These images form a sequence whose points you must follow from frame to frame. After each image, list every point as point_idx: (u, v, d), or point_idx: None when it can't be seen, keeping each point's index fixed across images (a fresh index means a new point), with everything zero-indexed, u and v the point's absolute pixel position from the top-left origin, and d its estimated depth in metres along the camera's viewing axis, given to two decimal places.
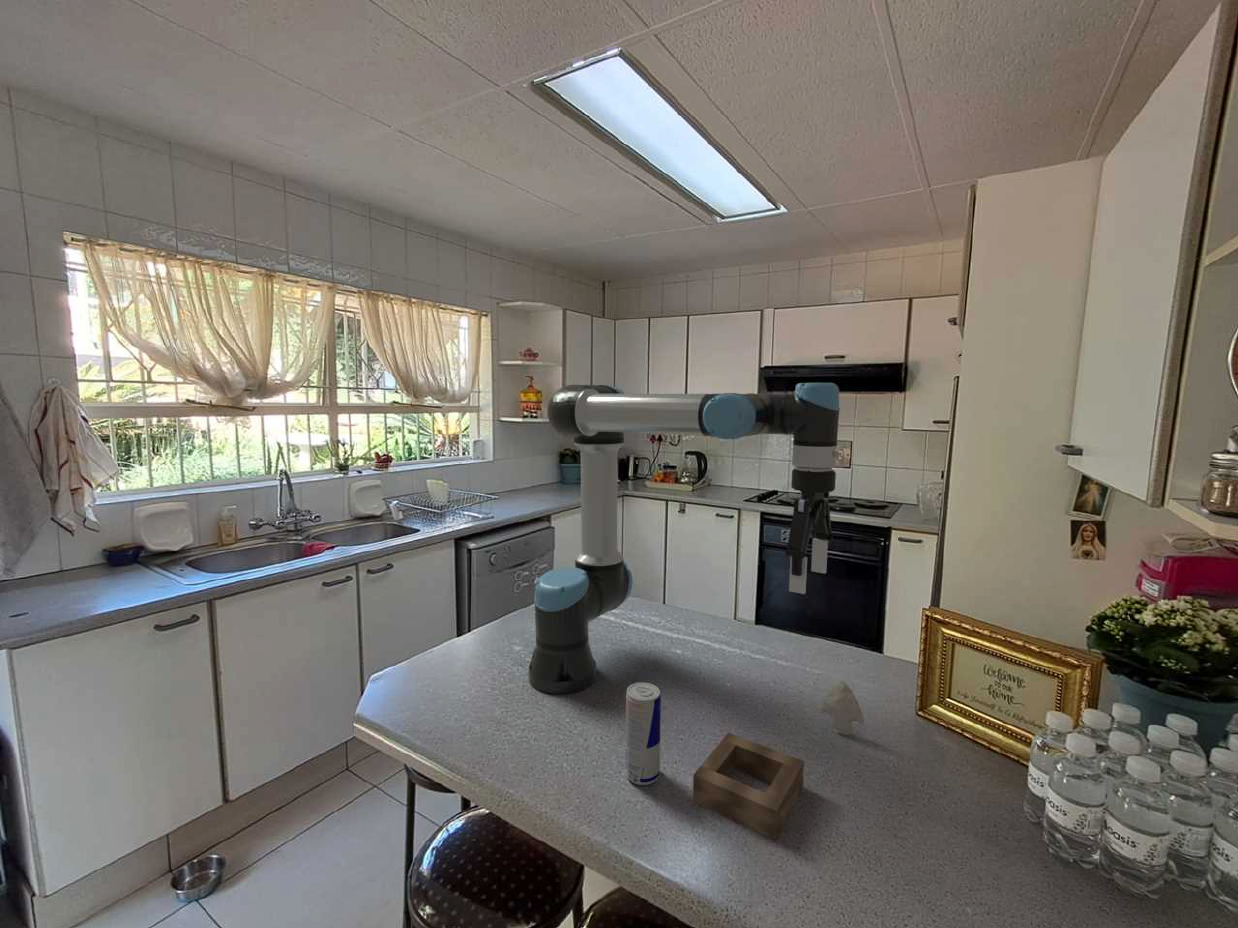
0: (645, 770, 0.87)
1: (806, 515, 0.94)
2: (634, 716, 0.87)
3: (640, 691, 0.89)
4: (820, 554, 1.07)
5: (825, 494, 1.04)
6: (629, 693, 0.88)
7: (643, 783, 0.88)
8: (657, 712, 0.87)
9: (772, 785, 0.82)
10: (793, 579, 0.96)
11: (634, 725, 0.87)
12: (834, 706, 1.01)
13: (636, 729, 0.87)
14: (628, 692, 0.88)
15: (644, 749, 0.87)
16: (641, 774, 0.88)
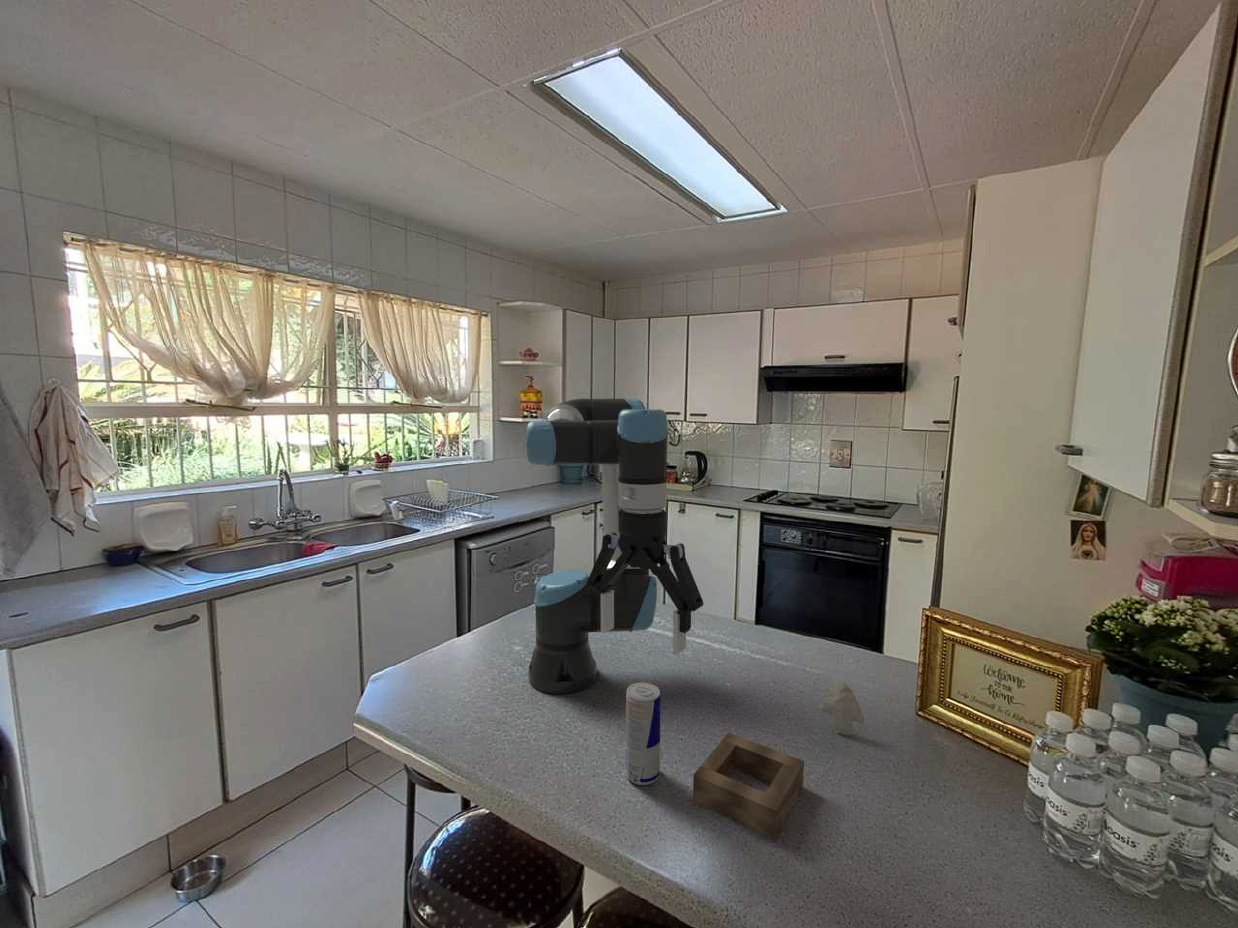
0: (645, 770, 0.87)
1: None
2: (634, 716, 0.87)
3: (640, 691, 0.89)
4: None
5: None
6: (629, 693, 0.88)
7: (643, 783, 0.88)
8: (657, 712, 0.87)
9: (772, 785, 0.82)
10: None
11: (634, 725, 0.87)
12: (834, 706, 1.01)
13: (636, 729, 0.87)
14: (628, 692, 0.88)
15: (644, 749, 0.87)
16: (641, 774, 0.88)
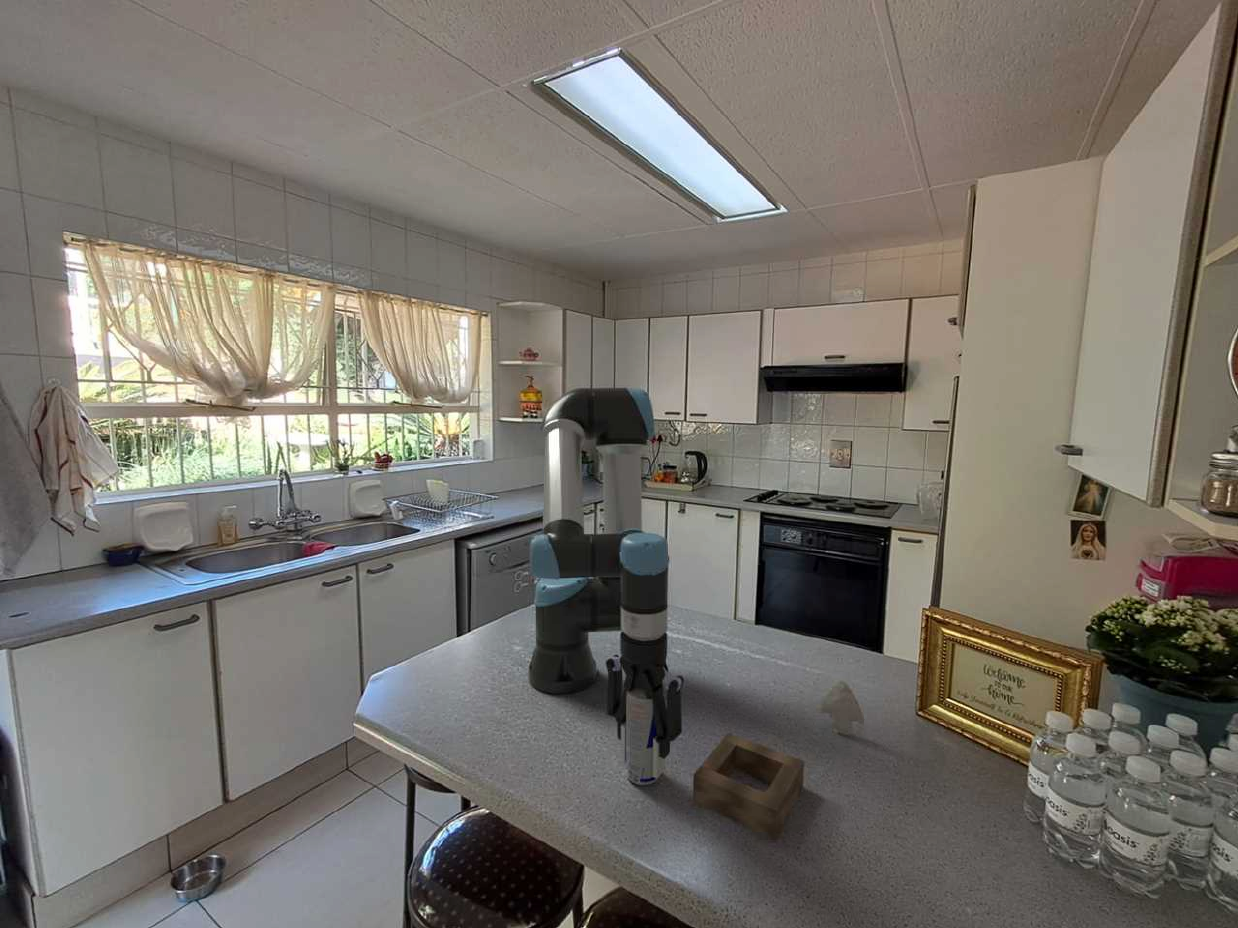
0: (645, 770, 0.87)
1: None
2: (634, 716, 0.87)
3: (640, 691, 0.89)
4: None
5: None
6: (629, 693, 0.88)
7: (643, 783, 0.88)
8: None
9: (772, 785, 0.82)
10: None
11: (635, 725, 0.87)
12: (834, 706, 1.01)
13: (636, 729, 0.87)
14: (628, 692, 0.88)
15: (644, 749, 0.87)
16: (641, 774, 0.88)
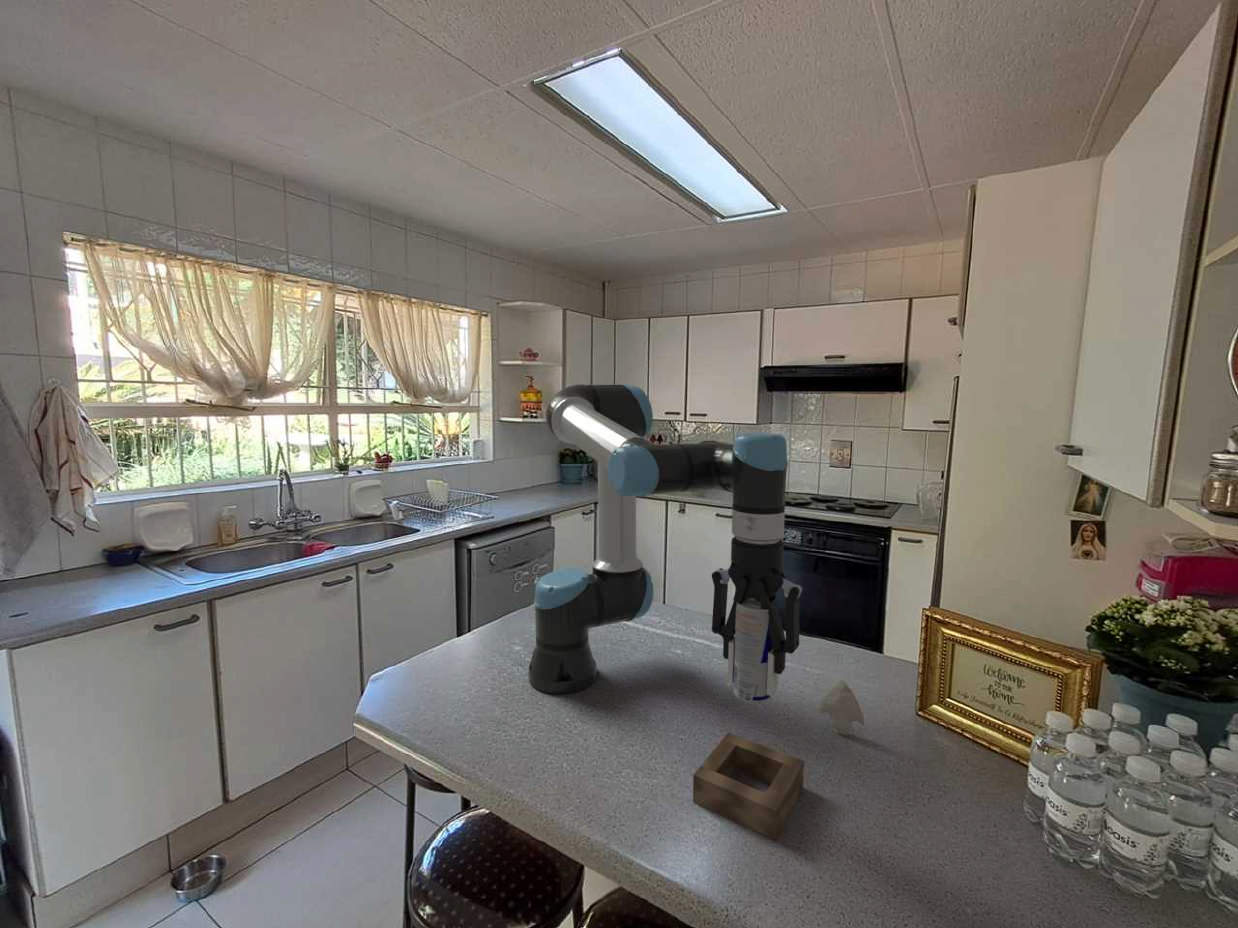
0: (759, 687, 0.81)
1: (714, 588, 0.85)
2: (748, 628, 0.80)
3: (752, 603, 0.82)
4: None
5: (790, 589, 0.78)
6: (741, 605, 0.82)
7: (756, 702, 0.81)
8: None
9: (772, 785, 0.82)
10: None
11: (748, 638, 0.81)
12: (834, 706, 1.01)
13: (750, 643, 0.80)
14: (739, 604, 0.82)
15: (758, 664, 0.81)
16: (754, 692, 0.81)
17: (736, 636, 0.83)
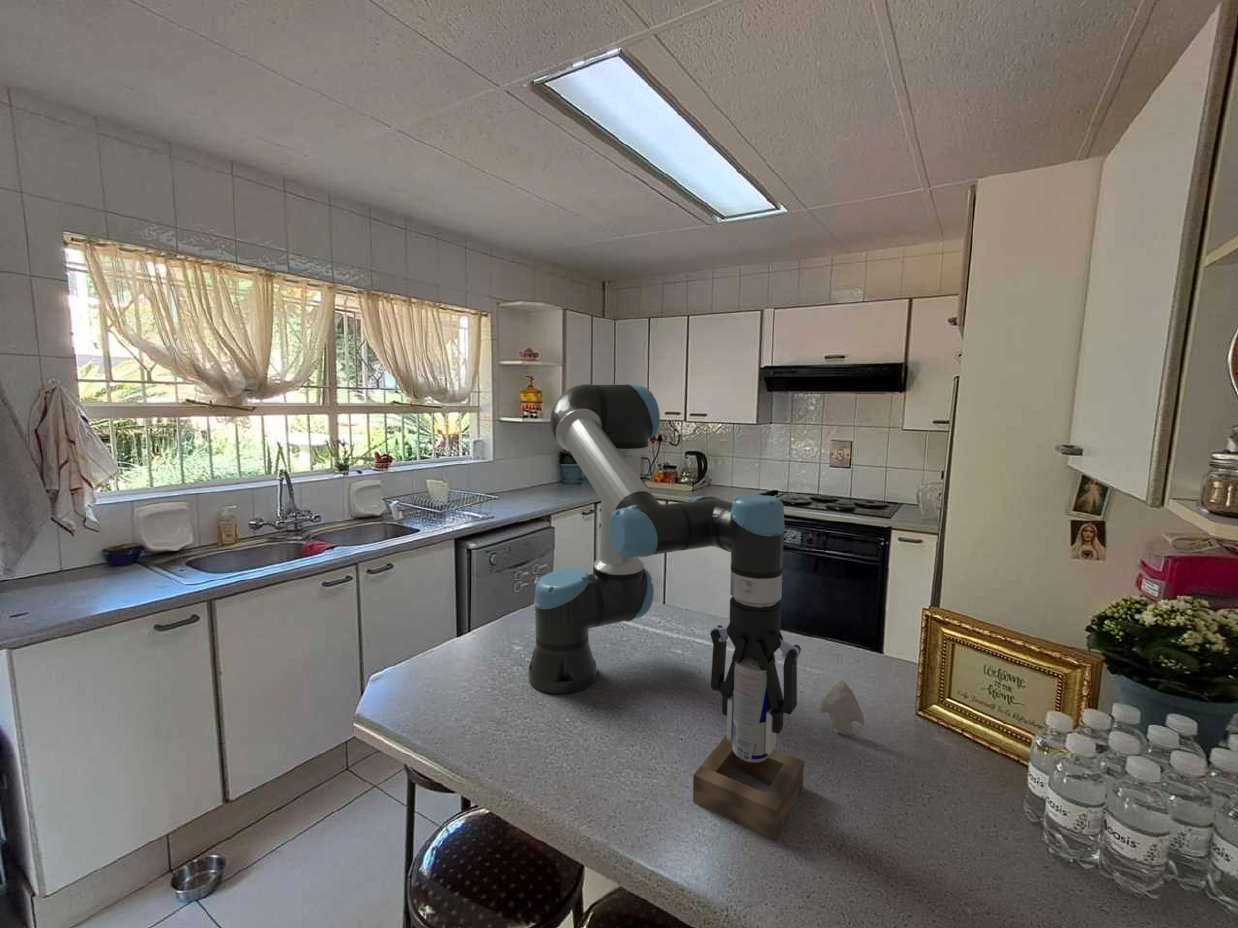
0: (757, 746, 0.82)
1: None
2: (746, 688, 0.82)
3: (750, 663, 0.83)
4: None
5: (788, 651, 0.79)
6: (739, 665, 0.83)
7: (755, 760, 0.82)
8: None
9: (772, 785, 0.82)
10: None
11: (746, 698, 0.82)
12: (834, 706, 1.01)
13: (748, 703, 0.82)
14: (738, 664, 0.83)
15: (757, 724, 0.82)
16: (753, 751, 0.82)
17: (735, 695, 0.84)
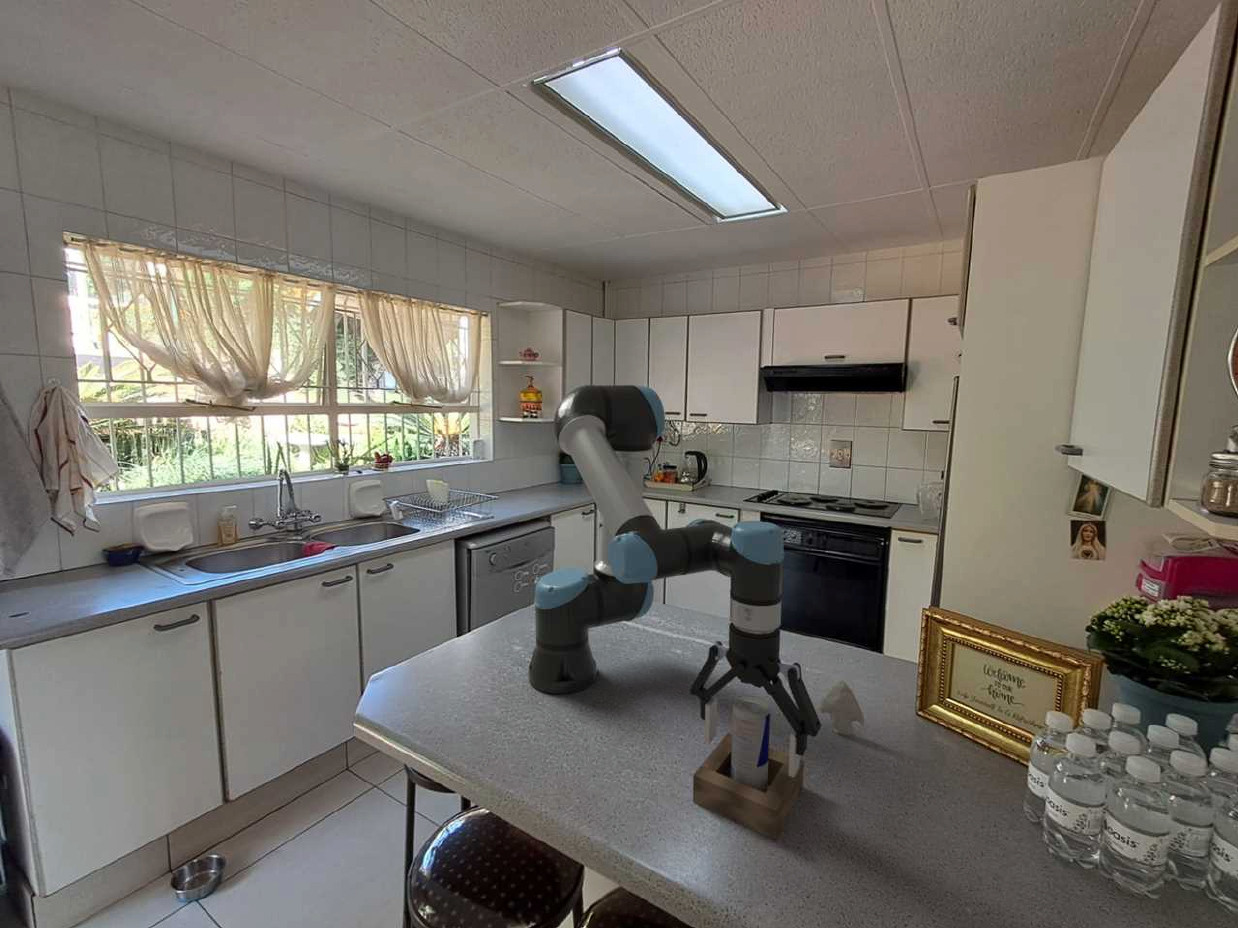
0: None
1: (707, 659, 0.87)
2: (744, 733, 0.82)
3: (748, 706, 0.84)
4: None
5: None
6: (737, 709, 0.84)
7: None
8: (768, 729, 0.83)
9: (772, 785, 0.82)
10: None
11: (744, 742, 0.83)
12: (834, 706, 1.01)
13: (746, 747, 0.82)
14: (736, 707, 0.84)
15: (754, 768, 0.83)
16: None
17: (733, 738, 0.85)
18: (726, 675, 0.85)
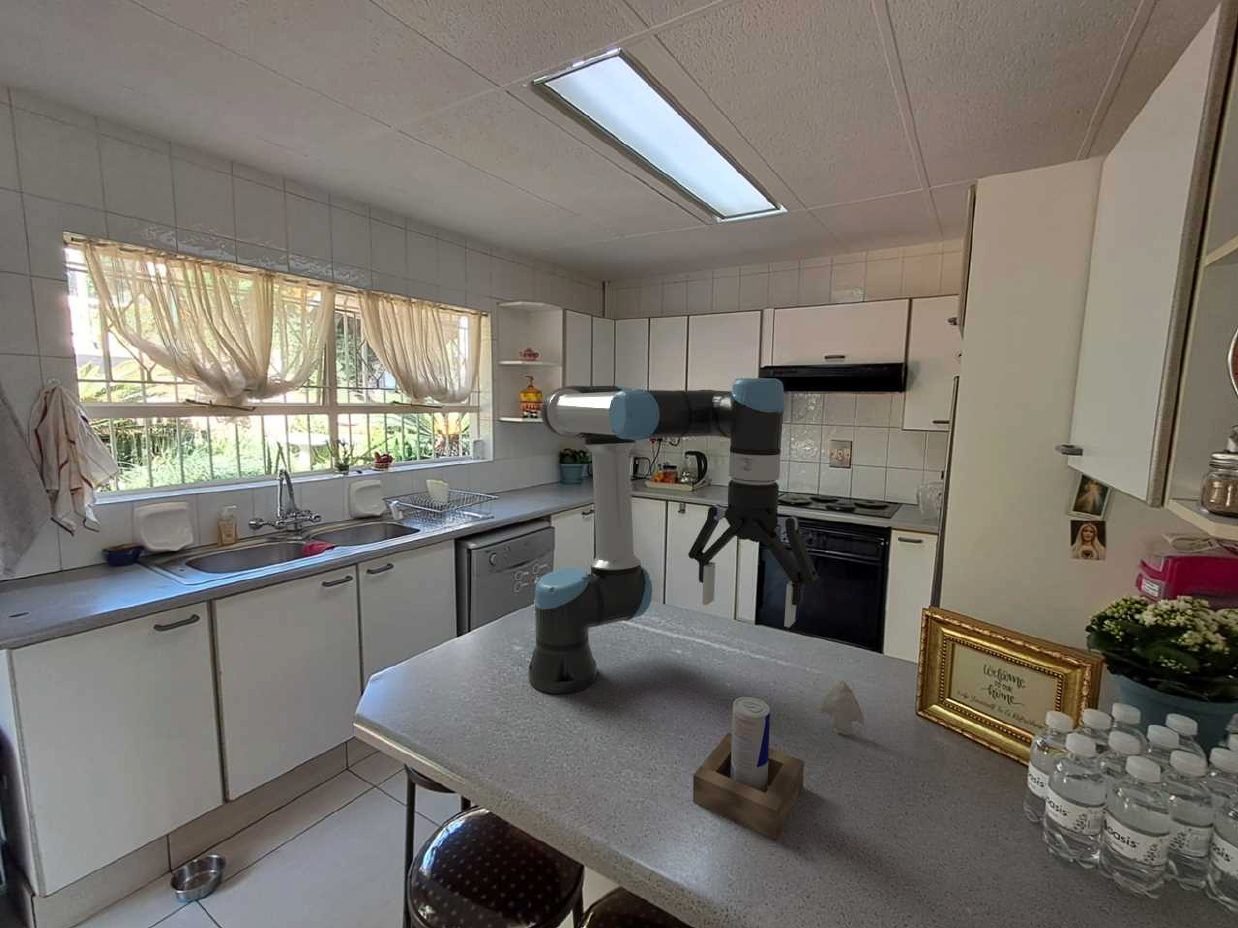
0: None
1: (706, 520, 0.88)
2: (744, 733, 0.82)
3: (748, 706, 0.84)
4: None
5: None
6: (737, 709, 0.84)
7: None
8: (768, 729, 0.83)
9: (772, 785, 0.82)
10: None
11: (744, 742, 0.83)
12: (834, 706, 1.01)
13: (746, 747, 0.82)
14: (736, 707, 0.84)
15: (754, 768, 0.83)
16: None
17: (733, 738, 0.85)
18: (724, 533, 0.85)
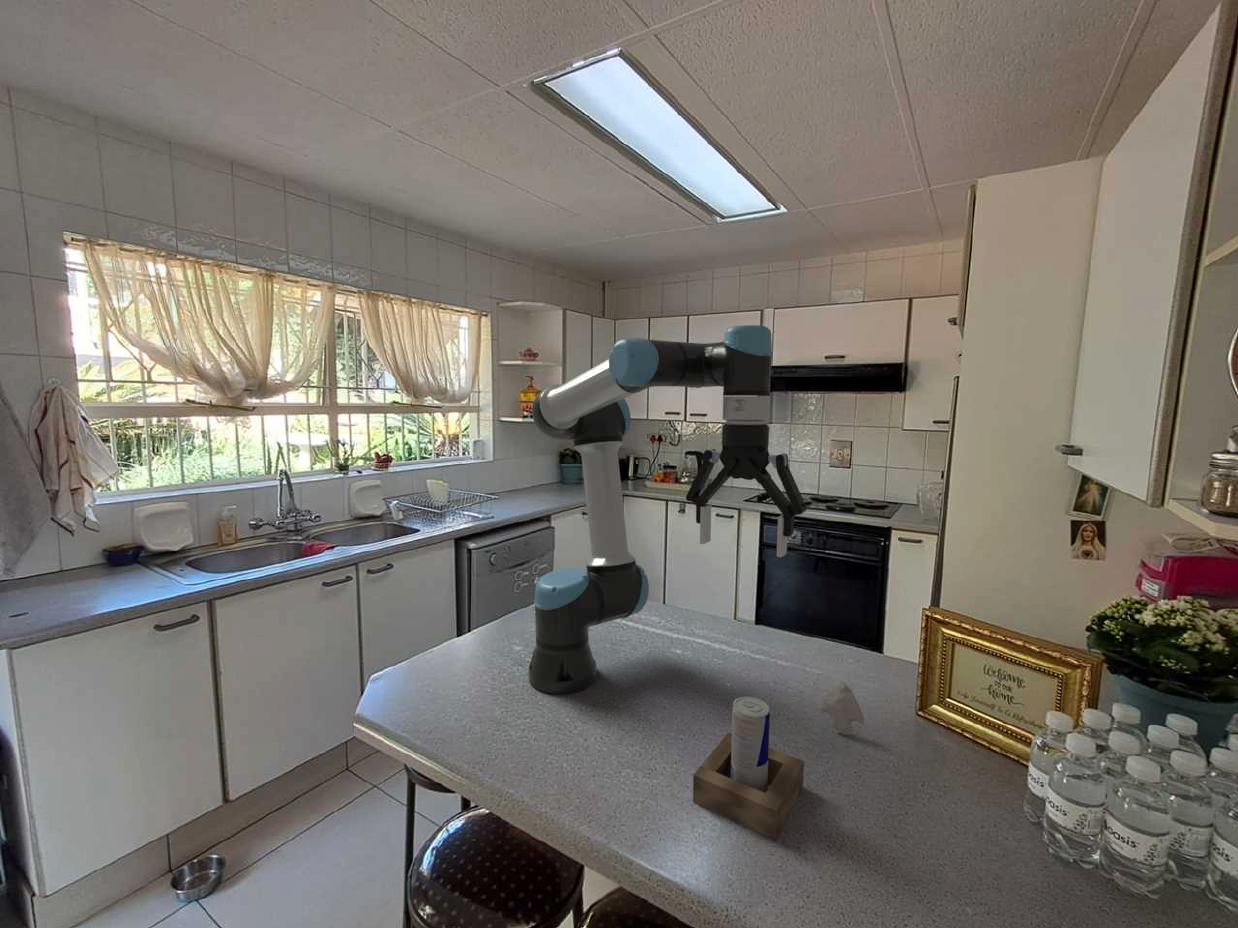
0: None
1: None
2: (744, 732, 0.82)
3: (748, 706, 0.84)
4: None
5: None
6: (737, 708, 0.84)
7: None
8: (768, 728, 0.83)
9: (772, 785, 0.82)
10: None
11: (744, 742, 0.83)
12: (834, 706, 1.01)
13: (746, 747, 0.83)
14: (735, 707, 0.84)
15: (754, 768, 0.83)
16: None
17: (733, 738, 0.85)
18: (719, 473, 0.92)
